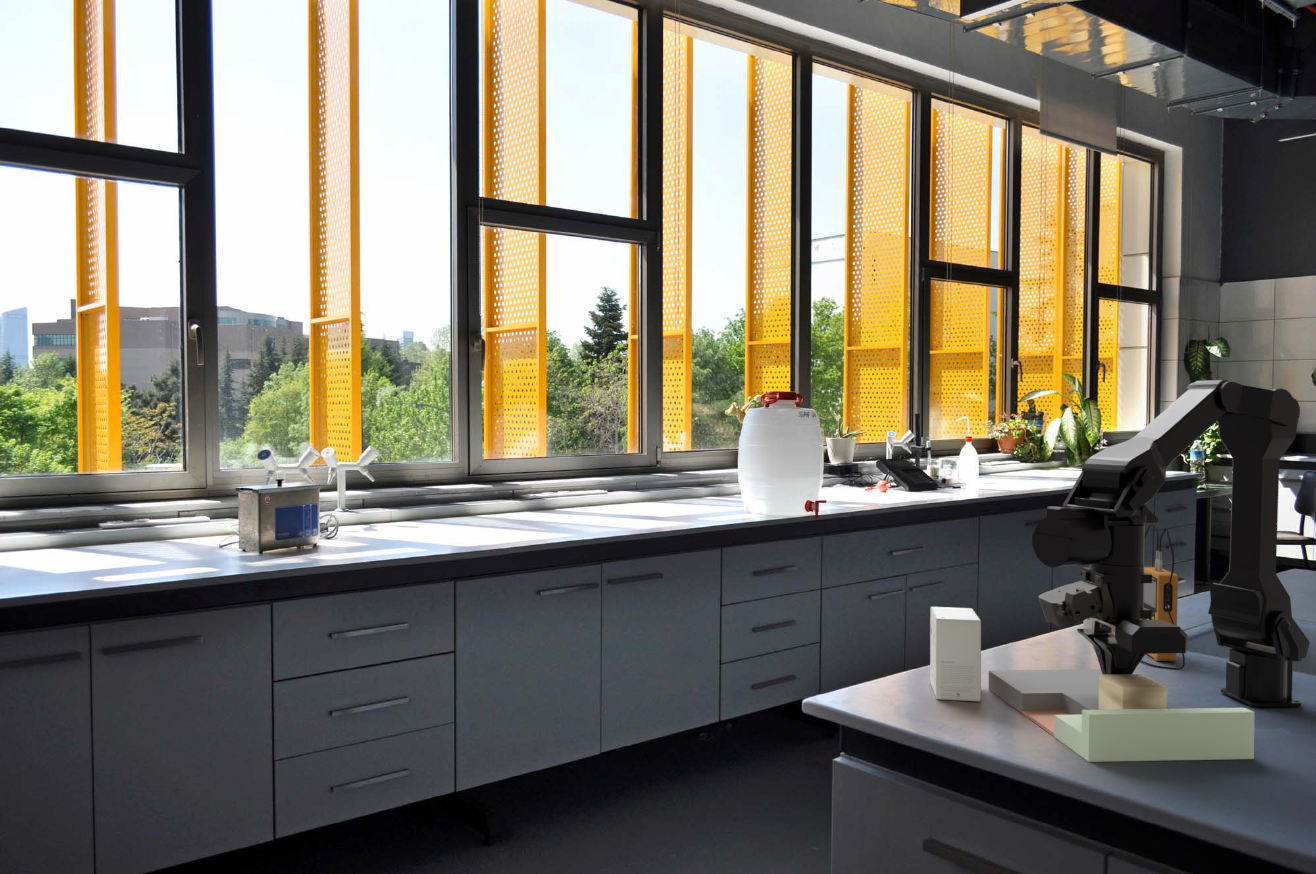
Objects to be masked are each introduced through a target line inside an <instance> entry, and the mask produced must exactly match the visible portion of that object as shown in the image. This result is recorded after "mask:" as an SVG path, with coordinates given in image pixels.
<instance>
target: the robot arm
mask: <svg viewBox="0 0 1316 874" xmlns="http://www.w3.org/2000/svg"><path fill="white" fill-rule="evenodd" d="M1300 414H1301V407H1300V404H1299V402H1298V400H1297V399H1296V398H1295V397H1293V395H1292V394H1291V393H1290V392H1289V390H1287V389H1285V388H1283V387H1281V388H1261V387H1257V386H1249V385H1244V384H1241V383H1238V382H1235V381H1231V380H1230V379H1210V380H1209V379H1208V380H1206V379H1205V380H1196V381H1194V382H1191V383H1190V384H1188V385H1187V386H1186V389H1185V391H1184V393H1183V394H1182V395H1180V396H1179V397H1178V398H1177V399H1176V400H1174V401H1173V402H1172V403H1171V404H1170V405H1169V406H1167V407H1166V409H1164V410H1163V411H1162V412H1161V413H1160V414H1158V415H1157V416H1156V417H1155V418H1154V419H1153V420H1152V421H1151V422H1149V423H1148V424H1147V425H1146V426H1145V427H1144V428H1142V430H1140V431H1139V432H1138V433H1137V434H1136V435H1135V436H1133V437H1131V438H1130V439H1128V440H1125V441H1122V442H1119V443H1116V444H1113V445H1109V446H1108V447H1106V448H1104V449H1101V450H1100V451H1099V452H1097V453H1095V454H1092V456H1089V457H1088V458H1087V460H1086V461H1085V462H1084V463H1083V465H1082V467H1081V472H1080V474H1079V476H1078V477H1077V480H1076V481H1075V483H1074V484H1073V486H1072V488H1071V490H1070V492H1069V493H1068V495H1067V497H1066V499H1065V500H1064V502H1063V504H1062V506H1054V505H1053V506H1052V505H1051V506H1047V508H1046V517H1043V519H1041V520H1040V521H1039V522H1038V523H1037V525H1036V526H1035V529H1034V532H1033V533H1032V535H1031V536H1032V537H1031V542H1032V543H1031V544H1032V547H1033V548H1032V549H1033V552H1034V553H1035V555H1036V557H1037V559H1038V560H1039V561H1040V563H1042V564H1043V565H1044V566H1047V567H1049V568H1064V567H1065V568H1066V567H1074V566H1075V567H1076V566H1088V565H1089V566H1088V567H1082V568H1081V569H1082V570H1080V571H1079V580H1078V581H1075V582H1073V583H1069V584H1068V583H1067V584H1065V585H1062V586H1059V587H1056V588H1054V589H1051V590H1048V591H1046V592H1043V593H1041V594H1039V595H1038V600H1039V603H1040V606H1041V609H1042V612H1043V615H1044V618H1045V621H1046V622H1047V623H1049V624H1050V623H1051V624H1053V625H1055V626H1056V627H1057V628H1059V629H1068V628H1070V627H1074V626H1075V624H1077V623H1079V622H1082V621H1083V625H1082V628H1077V629H1076V631H1077V633H1078V634H1079V635H1081V636H1082V637H1084V638H1085V640H1087V641H1088V642H1089V643H1090V644H1091V645H1092V646H1093V647H1092V648H1093V649H1094V653H1095V654H1096V657H1097V661H1098V664H1099V669H1101V671H1102V675H1104V674H1134V672H1135V670H1136V669H1137V668H1138V665H1139V664H1140V663H1141V662H1140V661H1141V660H1142V661H1143V658H1144V657H1145V656H1146V654H1147V655H1148V654H1151V653H1176V654H1182V653H1184V654H1186V653H1188V640H1189V639H1188V636H1189V635H1188V634H1187V633H1186V632H1185V630H1183V628H1181V627H1180V626H1179V625H1177V626H1176V625H1174V624H1171V623H1168V622H1166V621H1163V620H1140V619H1151V610H1150V609H1147V608H1144V607H1143V597H1144V583H1152V574H1149V573H1145V572H1144V567H1145V544H1146V543H1145V542H1146V538H1145V533H1146V524H1147V525H1148V524H1149V525H1151V524H1152V523H1154V524H1157V523H1159V518H1158V516H1157V515H1156V514H1154V513H1153V511H1151V510H1150V509H1149V508H1148V507H1147V504H1148V503H1149V502H1150V501H1151V500H1152V499H1153V498H1154V497H1155V495H1156V494H1157V493H1158V491H1159V490H1160V489H1161V487H1162V486H1163V485H1164V484H1165V483H1166V480H1167V478H1166V477H1167V468H1168V467H1169V466H1170V464H1171V463H1172V462H1173V461H1174V460H1175V459H1176V458H1177V457H1179V456H1180V455H1181V454H1182V453H1184V451H1185V450H1186V449H1187V448H1189V447H1190V446H1191V445H1192V444H1193V443H1194V442H1195V441H1197V440H1198V439H1199V437H1201V436H1202V435H1203V434H1204V433H1205V432H1206V431H1207V430H1208V429H1209V428H1211V427H1212V426H1214V424H1215V423H1217V425H1218V437H1219V440H1221V442H1222V443H1223V445H1224V447H1225V448H1226V450H1227V451H1228V453H1229V455H1230V456H1231V458H1232V475H1231V476H1232V477H1231V506H1230V507H1231V509H1230V511H1231V512H1230V542H1229V545H1230V546H1229V547H1230V548H1229V549H1230V550H1229V569H1228V572H1227V573H1226V575H1225V576H1224V577H1223V578H1222V579H1221V581H1220V582H1219V583H1215V582H1213V583H1212V584H1211V586H1210V588H1209V595H1210V604H1209V610H1208V612H1207V613H1208V615H1210V617H1211V624H1212V626H1213V631H1214V634H1215V639H1216V642H1217V646H1218V647H1225V648H1229V651H1228V652H1229V656H1228V657H1229V659H1228V660H1226V664H1225V669H1226V670H1225V687H1221V688H1220V693H1222V694H1224V695H1225V696H1227V697H1231V698H1233V699H1235V700H1237V701H1239V702H1241V703H1244V704H1245V705H1248V706H1251V707H1258V708H1263V707H1265V708H1267V707H1268V708H1269V707H1273V708H1274V707H1279V708H1280V707H1301V706H1302V705H1303V704H1302V701H1299V700H1297V699H1296V698H1293V682H1294V681H1293V678H1294V677H1293V676H1294V675H1293V674H1294V672H1293V671H1294V669H1293V668H1294V662H1301V661H1302V659H1306V658H1307V655H1308V651H1309V647H1310V641H1309V639H1308V638H1307V636H1306V634H1304V632H1303V630H1302V629H1301V627H1300V626H1299V624H1297V622H1296V621H1295V619H1294V618H1293V615H1292V602H1291V601H1292V600H1291V596H1290V594H1289V593H1288V592H1287V590H1286V588H1285V586H1284V585H1283V583H1282V582H1281V580H1280V579H1279V577H1278V575H1277V547H1278V517H1279V516H1278V515H1279V514H1278V513H1279V512H1278V511H1279V489H1280V488H1279V487H1280V486H1279V485H1280V460H1281V459H1282V457H1283V455H1285V453H1286V452H1287V450H1288V449H1289V448H1290V447H1291V445H1292V444H1293V442H1294V441H1295V440H1296V437H1297V429H1298V423H1299V422H1298V421H1299V418H1300V416H1301V415H1300Z"/></svg>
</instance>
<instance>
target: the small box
mask: <svg viewBox="0 0 1316 874" xmlns="http://www.w3.org/2000/svg"><path fill="white" fill-rule="evenodd" d="M929 609H930V611H929V612H930V614H929V615H930V617H929V618H930V620H929V621H930V625H929V626H930V627H929V628H930V629H929V630H930V632H929V633H930V635H929V637H930V638H929V639H930V643H929V644H930V646H929V649H930V652H929V654H930V655H929V656H930V657H929V659H930V661H929V662H930V663H929V664H930V667H929V672H930V673H929V674H930V675H929V677H930V678H929V679H930V682H929V683H930V685H931V687H932V691H933V693H934V695H935V699H936V700H942V701H943V700H947V701H962V702H963V701H965V702H981V698H982V696H981V695H982V694H981V693H982V692H981V691H982V620H981V619H980V617H979V615H977V613H976V612H975V610H974V609H973V608H972V607H971V608H970V607H950V606H949V607H946V606H930V608H929Z"/></svg>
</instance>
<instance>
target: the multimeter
mask: <svg viewBox="0 0 1316 874" xmlns="http://www.w3.org/2000/svg"><path fill="white" fill-rule="evenodd" d="M1152 526H1154V527H1155V529H1156V555H1155V560H1154V566H1144V572H1145V573H1149V574H1152V583H1144V597H1143V607H1144V608H1147V609H1150V610H1151V619H1140V620H1163V621H1166V622H1168V623H1171V624H1174V625H1176V626H1178V597H1179V596H1178V593H1179V592H1178V591H1179V590H1178V589H1179V577H1178V575H1177V574H1176V573H1174V569H1175V554H1174V549H1173V544H1172V541H1171V537H1170V534H1169V528H1170V527H1169V526H1166V527H1165V528H1164V529H1163V531H1162V533H1161V534H1159V533H1160V532H1159V528H1158V525H1157V523H1152V524H1149V525H1148V527H1147V529H1145V539H1146V538H1147V535H1148V533H1149V531H1150V528H1151V527H1152ZM1165 532H1166V536H1167V539H1168V543H1169V546H1170V552H1171V557H1172V558H1171V559H1172V564H1171V565H1172V566H1171V571H1170V570H1168V569H1167V570H1166V569H1164V568H1163V558H1162V557H1163V555H1162V553H1163V552H1162V539H1163V536H1164V534H1165ZM1159 535H1160V536H1159ZM1147 655H1149V656H1150V657H1151V658H1153V660H1155V662H1176V661H1177V653H1151V654H1147ZM1181 655H1182V665H1181V667H1170V666H1162V665H1156V664H1151V663H1149V662H1146V661H1144V660H1143V659H1142V660H1141V661H1140V663H1142V664H1144V665H1148V666H1150V667H1154V668H1161V669H1166V670H1178V671H1179V670H1183V669H1184V667H1185V664H1186V660H1185V653H1181Z"/></svg>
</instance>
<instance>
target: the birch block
mask: <svg viewBox="0 0 1316 874" xmlns="http://www.w3.org/2000/svg"><path fill="white" fill-rule="evenodd" d="M1115 709H1168V686H1166V685H1164V684H1162V683H1160V682H1158V681H1156V680H1154V679H1152V678H1150V677H1148V676H1146V675H1144V674H1142V673H1137V674H1136V673H1133V674H1104V675H1099V710H1115Z"/></svg>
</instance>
